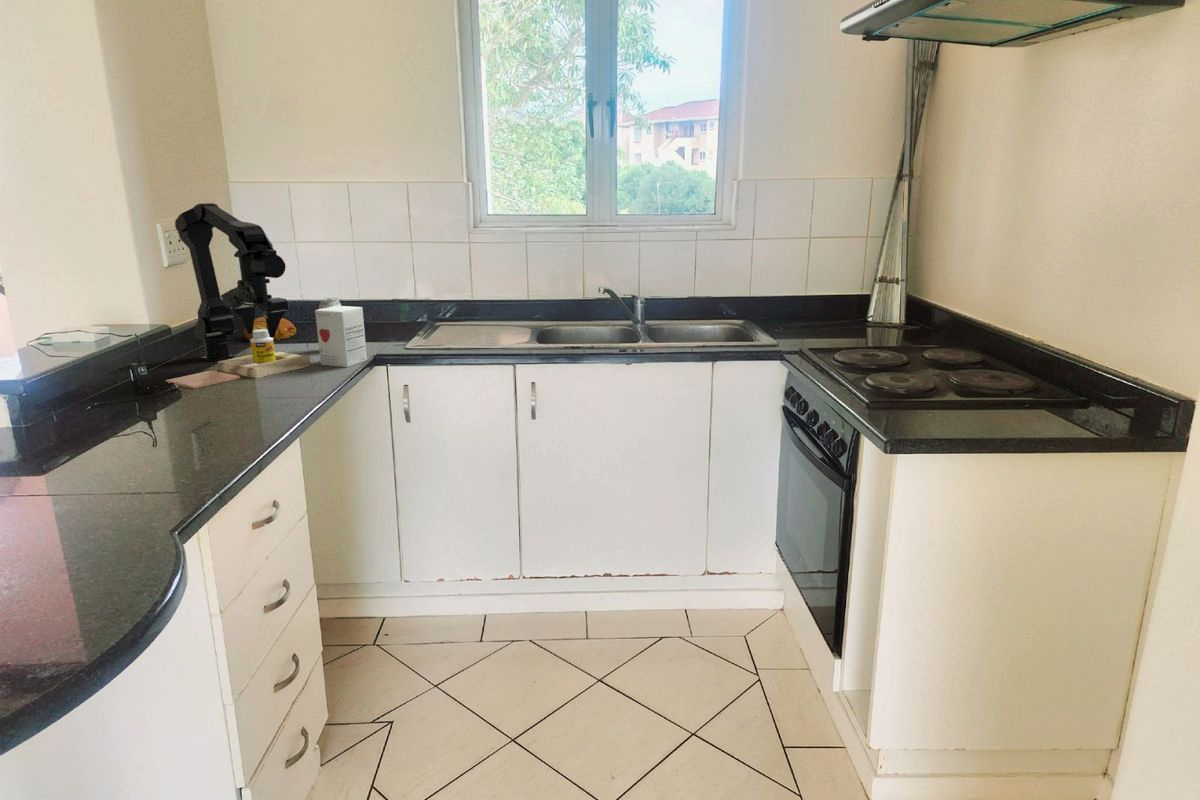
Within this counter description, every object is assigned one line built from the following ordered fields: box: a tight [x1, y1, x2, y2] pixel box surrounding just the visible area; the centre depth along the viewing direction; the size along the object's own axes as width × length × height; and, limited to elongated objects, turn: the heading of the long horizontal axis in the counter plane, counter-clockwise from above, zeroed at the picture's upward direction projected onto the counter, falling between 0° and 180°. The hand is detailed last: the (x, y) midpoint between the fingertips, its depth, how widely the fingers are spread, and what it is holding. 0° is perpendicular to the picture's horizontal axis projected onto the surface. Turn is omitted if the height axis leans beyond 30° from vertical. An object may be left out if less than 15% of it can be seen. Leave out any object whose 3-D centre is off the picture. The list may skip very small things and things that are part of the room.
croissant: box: [243, 316, 297, 341], centre depth 243 cm, size 14×16×8 cm
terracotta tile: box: [165, 369, 241, 389], centre depth 190 cm, size 12×12×1 cm
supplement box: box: [314, 305, 368, 368], centre depth 206 cm, size 9×9×15 cm
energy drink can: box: [318, 297, 342, 309], centre depth 222 cm, size 6×6×15 cm
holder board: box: [217, 350, 311, 379], centre depth 202 cm, size 16×16×2 cm
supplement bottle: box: [249, 329, 276, 364], centre depth 201 cm, size 6×6×10 cm
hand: (260, 335), depth 200 cm, fingers open, 9 cm apart
